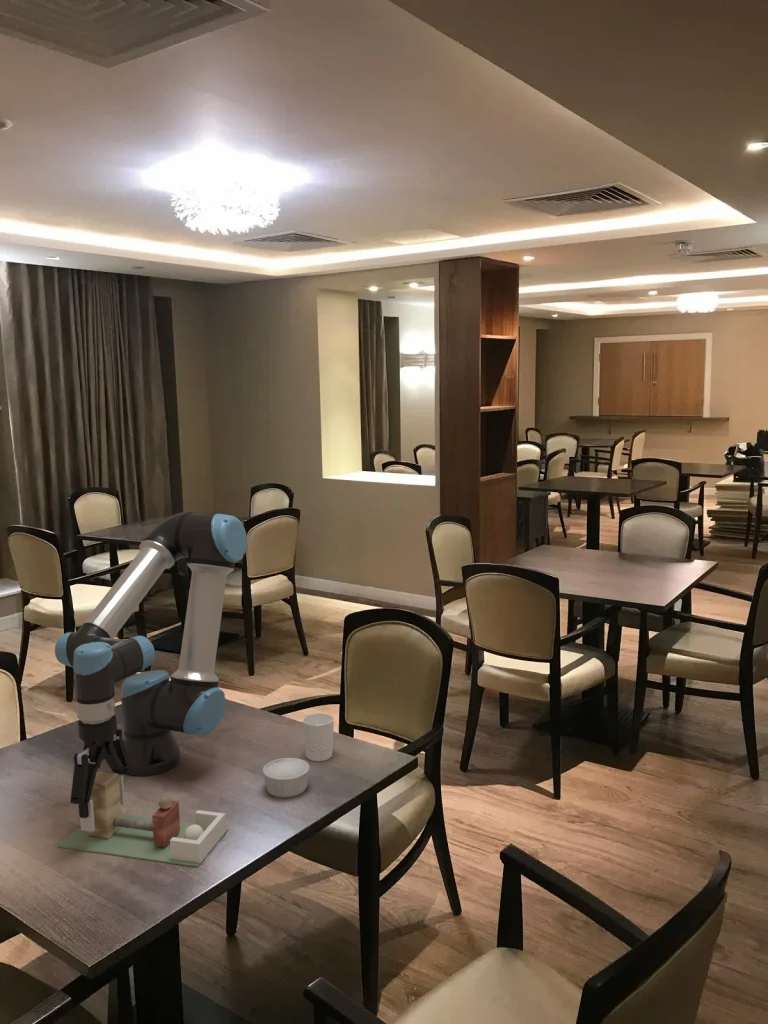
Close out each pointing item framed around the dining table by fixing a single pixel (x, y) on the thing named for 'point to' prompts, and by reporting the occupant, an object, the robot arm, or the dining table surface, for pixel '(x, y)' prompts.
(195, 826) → the ball
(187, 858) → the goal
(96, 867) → the dining table surface
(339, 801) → the dining table surface
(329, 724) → the white cup
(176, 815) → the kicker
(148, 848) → the pitch
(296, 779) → the ramekin
